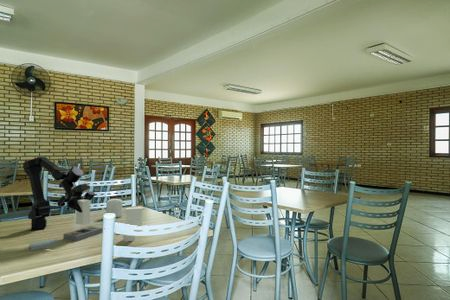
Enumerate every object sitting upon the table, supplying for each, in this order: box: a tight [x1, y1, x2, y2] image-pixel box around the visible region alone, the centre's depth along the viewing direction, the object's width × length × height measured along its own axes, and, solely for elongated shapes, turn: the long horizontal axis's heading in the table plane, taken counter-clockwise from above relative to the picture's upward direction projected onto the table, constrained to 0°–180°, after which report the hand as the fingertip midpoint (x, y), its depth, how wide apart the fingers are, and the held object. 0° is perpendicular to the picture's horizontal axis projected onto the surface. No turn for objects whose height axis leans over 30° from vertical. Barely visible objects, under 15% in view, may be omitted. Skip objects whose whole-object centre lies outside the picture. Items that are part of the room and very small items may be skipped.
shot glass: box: [122, 234, 136, 242], centre depth 138 cm, size 7×7×7 cm
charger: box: [75, 199, 91, 226], centre depth 141 cm, size 4×5×12 cm
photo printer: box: [105, 198, 123, 218], centre depth 184 cm, size 10×4×12 cm, turn 123°
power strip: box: [62, 225, 104, 242], centre depth 141 cm, size 16×9×4 cm, turn 158°
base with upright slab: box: [125, 206, 144, 227], centre depth 158 cm, size 9×9×12 cm
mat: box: [29, 238, 61, 252], centre depth 128 cm, size 11×11×1 cm
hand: (85, 211), depth 140 cm, fingers closed on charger, 4 cm apart
